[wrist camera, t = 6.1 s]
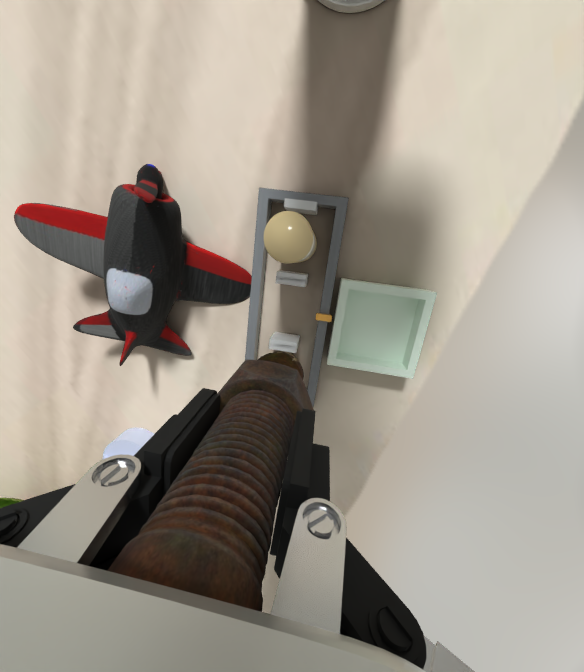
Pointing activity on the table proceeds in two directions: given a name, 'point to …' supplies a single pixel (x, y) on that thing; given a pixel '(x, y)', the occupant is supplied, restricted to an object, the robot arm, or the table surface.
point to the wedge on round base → (128, 442)
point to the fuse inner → (289, 238)
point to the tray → (379, 327)
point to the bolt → (225, 492)
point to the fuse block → (293, 274)
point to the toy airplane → (135, 261)
